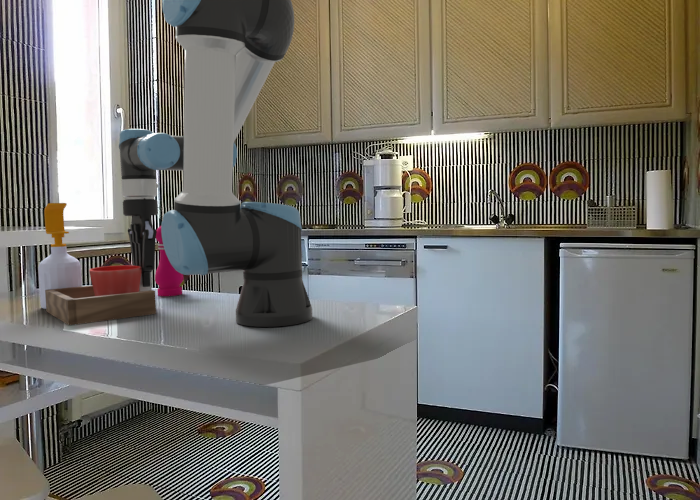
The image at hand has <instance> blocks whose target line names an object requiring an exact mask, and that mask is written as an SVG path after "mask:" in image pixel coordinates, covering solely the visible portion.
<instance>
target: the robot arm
mask: <svg viewBox="0 0 700 500" xmlns="http://www.w3.org/2000/svg"><path fill="white" fill-rule="evenodd" d="M294 11H295V10H294V6H293V2H292V0H162V13H163V17H164V20H165V22H166V23H167V24H168V25H170V26H171V27H174V28H175V40H176V42H177V43H178V44H179V45H180V46H181V47H182V48H183V50H184V92H183V93H184V95H183V97H184V98H183V99H184V100H183V102H184V104H183V108H184V109H183V110H184V111H183V135H170V134H168V133H165V132H153V131H151V130H149V129H146V128H145V129H144V128H129V129H123V130H120V132H119V139H118V140H119V141H118V143H119V144H118V148H119V160H120V173H121V174H120V175H121V179H120V181H121V183H120V184H121V197H123V198H124V199H123V201H122V213H123V215H124V216H125V217H131V222H130V223H131V224H130V225H129V226H130V227H129V228H127V234H128V237H129V244H130V251H131V260H132V266H139V267H142V272H141V280H140V288H139V292H140V291H150V290H153V288H152V286H153V285H152V271H154V270H155V263H156V262H155V261H156V260H155V259H156V240H157V239H156V233H157V231H156V230H157V229H156V228H154V225H153V223H152V219H151V216H157V215H159V214H158V213H159V209H158V208H159V205H158V200H157V198H156V199H155V197H157V195H158V193H157V192H158V191H157V190H158V189H157V188H159V184H158V183H157V171H183V172H182V173H183V176H182V177H183V180H182V184H183V185H182V191H181V192H180V193H179V194H178V195H176V197H175V198H174V201H173V204H174V205H173V209H171V210H168V211H166V212H165V213H164V214H163V216H162V221H161V224H160V226H161V233H162V241H163V245H164V249H165V252H166V255H167V257H168V259H169V261H170V263H171V265H172V266H173V268H174V269H175V270H176V271H178V272H179V273H181V274H183V276H184V275H186V276H191V275H192V276H194V275H196V276H197V275H199V276H205V275H208V274H216V273H217V274H219V273H228V272H230V273H231V272H237V271H238V272H239V271H242V272H243V274H242V275H243V281H242V282H243V283H242V286H241V291H240V293H239V298H238V301H237V304H236V309H235V323H236V324H238V325H241V326H246V327H256V328H257V327H258V328H261V327H262V328H264V327H265V328H266V327H267V328H271V327H272V328H273V327H274V328H275V327H285V326H295V325H300V324H303V323H306V322H310V321H311V320H313V308H312V304H311V300H310V298H309V295H308V293H307V289H306V287H305V284H304V280H303V259H302V257H303V256H302V255H303V254H302V253H303V251H302V231H303V227H302V221H301V214H300V211H299V210H298V209H297V208H296V207H295V206H292V205H289V204H288V205H287V204H283V203H282V204H281V203H273V202H263V201H262V202H259V201H243V202H241V201H240V200H239V199H238V197H237V196H235V194H234V193H233V175H234V174H233V171H234V169H233V168H234V167H235V165H236V163H237V158H238V149H237V145H236V143H235V141H236V139H237V137H238V135H239V133H240V131H241V129H242V127H243V125H244V124H245V122H246V119H247V118H248V115H249V114H250V112H251V110H252V107H253V106H254V104H255V102H256V101H257V98H258V97H259V94H260V92H261V90H262V88H264V84H265V83H266V80H267V79H268V77H269V75H270V73H271V71H272V69H273V67H274V65H275V64H276V63H277V62H280V61H282V60H283V59H284V57H285V56H286V54H287V52H288V50H289V48H290V46H291V43H292V39H293V36H294V31H295V12H294Z"/></svg>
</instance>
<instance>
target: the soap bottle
mask: <svg viewBox="0 0 700 500" xmlns="http://www.w3.org/2000/svg"><path fill="white" fill-rule="evenodd" d="M66 206H68V205H67V203H66V202H49V203H47V204H46V205H45V207H44V228H45V229H44V230H45V233H46V234H47V235H51V238H52V239H53V241H54V243H51V244H50V254H49V255H48V256H47V257H45V258H43V259H42V260H41V261H40V262H39V264H38V267H37V270H38V272H37V273H38V284H39V285H38V287H39V301H40V307H41V309H43V310H46V297H45V290H49V289H59V288H70V287H80V286H83V280H82V279H83V278H82V277H83V275H82V265H81V262H80V260H78V259H77V258H76V257H75V256H73V255H70V254H69V253H68V251H67V244H66V243H63V238H65V234H70V232H69V231H66V230H65V220H64V218H65V217H64V211H65V208H66Z"/></svg>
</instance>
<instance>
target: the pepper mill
mask: <svg viewBox="0 0 700 500" xmlns="http://www.w3.org/2000/svg"><path fill="white" fill-rule="evenodd" d="M156 231H157V233H156V239H155V240H156V241H157V242H158V244H157V246H158V247H157V249H158V250H159V263H158V265H157V268H156V271H155V274H154V281H155V283H156V284H157V285H158V286H159V287H158V288H157V290H156V291H157V296H158V297H175V296H180V295H182V294H183V287H182V286H181V284H182V283H183V281H184V279H185V278H184V274H181V273H179V272H178V271H176V270H175V269H174V268H173V266H172V265H171V263H170V261H169V259H168V257H167V255H166V252H165V249H164V245H163V241H162V233H161V225H160V226H158V227H157V229H156Z"/></svg>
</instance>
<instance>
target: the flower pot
mask: <svg viewBox="0 0 700 500" xmlns="http://www.w3.org/2000/svg"><path fill="white" fill-rule="evenodd" d="M88 271H89V276H90V281H91V285H93V289H94V293H95V296H103V295H113V294H122V293H131V292H139V288H140V280H141V272H142V267H139V266H133V265H131V264H130V265H126V264H125V265H107V266H106V265H105V266H99V267H98V266H97V267H92V268H90V269H89V270H88Z"/></svg>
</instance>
